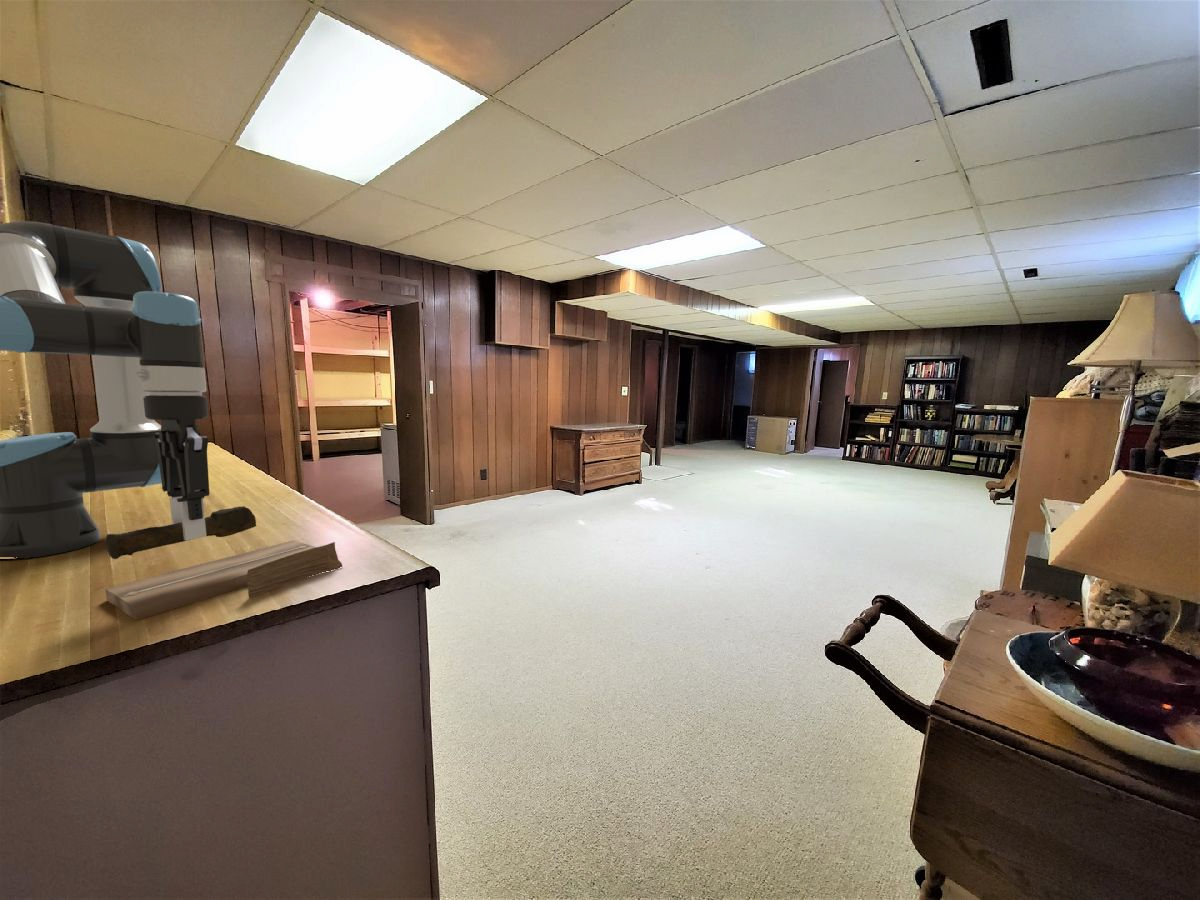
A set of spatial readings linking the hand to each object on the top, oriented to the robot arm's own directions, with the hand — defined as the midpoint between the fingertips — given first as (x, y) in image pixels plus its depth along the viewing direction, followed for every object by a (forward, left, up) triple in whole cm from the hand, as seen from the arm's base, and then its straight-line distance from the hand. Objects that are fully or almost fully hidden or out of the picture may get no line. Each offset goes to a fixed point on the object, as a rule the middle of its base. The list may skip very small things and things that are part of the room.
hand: (190, 535), depth 77 cm
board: (0, +5, -9) cm, 10 cm away
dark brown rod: (-1, 0, -1) cm, 1 cm away
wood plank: (+11, +11, -10) cm, 18 cm away
